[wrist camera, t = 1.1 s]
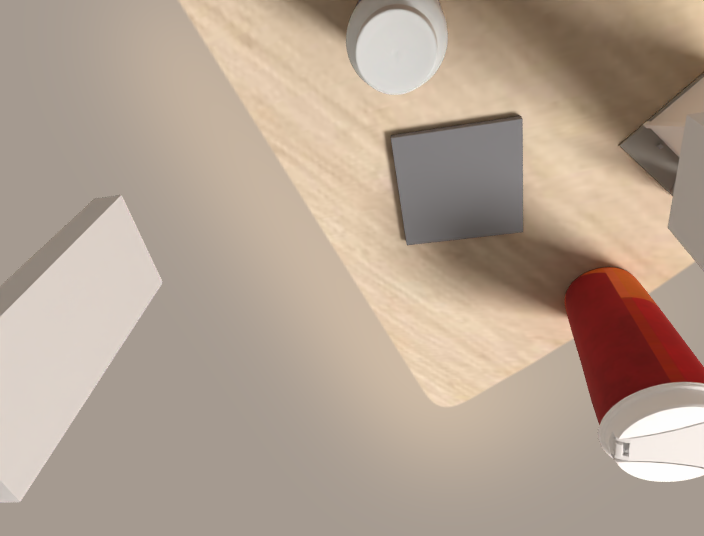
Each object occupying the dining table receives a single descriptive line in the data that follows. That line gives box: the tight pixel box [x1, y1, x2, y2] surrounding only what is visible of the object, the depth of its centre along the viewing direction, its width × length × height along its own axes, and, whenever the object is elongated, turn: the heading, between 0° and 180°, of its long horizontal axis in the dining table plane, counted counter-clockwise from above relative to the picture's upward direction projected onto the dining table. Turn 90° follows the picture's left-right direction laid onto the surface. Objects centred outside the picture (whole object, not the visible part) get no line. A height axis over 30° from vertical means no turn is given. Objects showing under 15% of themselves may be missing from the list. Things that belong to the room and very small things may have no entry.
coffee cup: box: [565, 267, 704, 482], centre depth 38 cm, size 8×8×15 cm
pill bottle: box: [346, 0, 448, 95], centre depth 29 cm, size 5×5×10 cm
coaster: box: [391, 116, 523, 245], centre depth 39 cm, size 9×9×1 cm
